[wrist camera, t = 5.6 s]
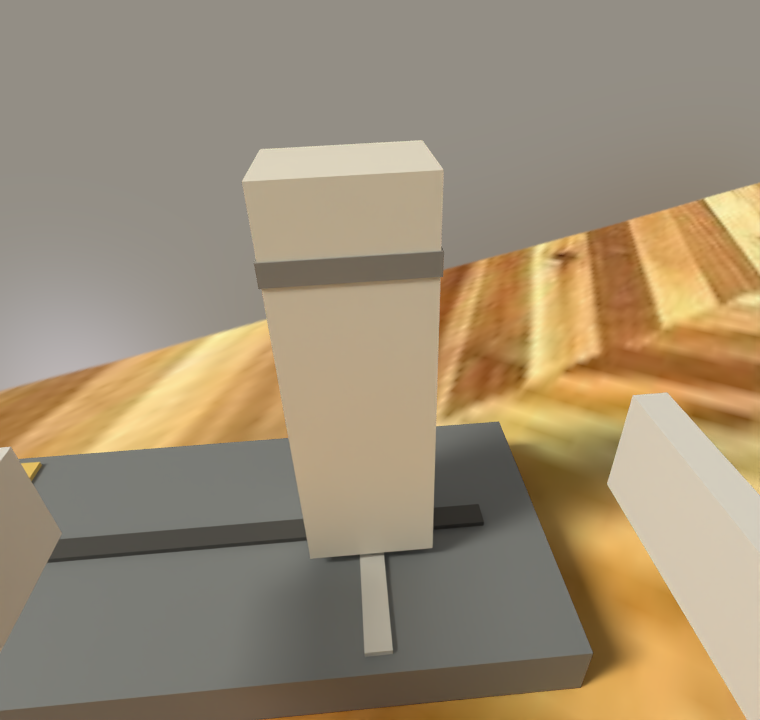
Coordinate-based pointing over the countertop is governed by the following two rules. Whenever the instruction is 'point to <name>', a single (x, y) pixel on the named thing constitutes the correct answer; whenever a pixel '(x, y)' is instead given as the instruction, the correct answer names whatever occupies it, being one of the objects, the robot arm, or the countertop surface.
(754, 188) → the countertop surface
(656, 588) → the countertop surface
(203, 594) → the fader console
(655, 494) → the robot arm
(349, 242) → the fader knob
